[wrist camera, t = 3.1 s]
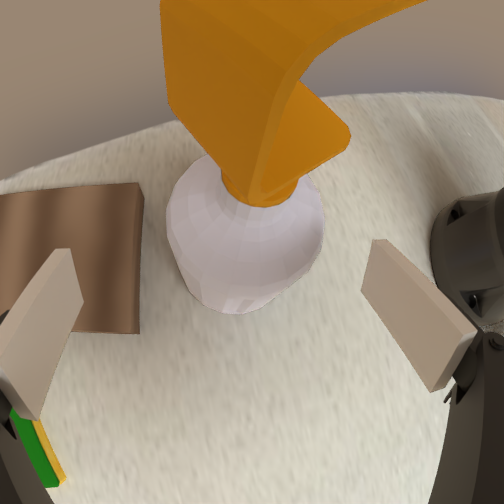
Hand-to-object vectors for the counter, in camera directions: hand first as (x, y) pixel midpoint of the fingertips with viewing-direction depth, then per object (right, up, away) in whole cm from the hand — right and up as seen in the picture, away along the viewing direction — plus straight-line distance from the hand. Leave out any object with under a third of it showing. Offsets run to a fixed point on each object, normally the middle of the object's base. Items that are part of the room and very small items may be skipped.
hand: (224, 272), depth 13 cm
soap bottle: (0, 0, +14) cm, 14 cm away
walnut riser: (-16, 0, +12) cm, 20 cm away
